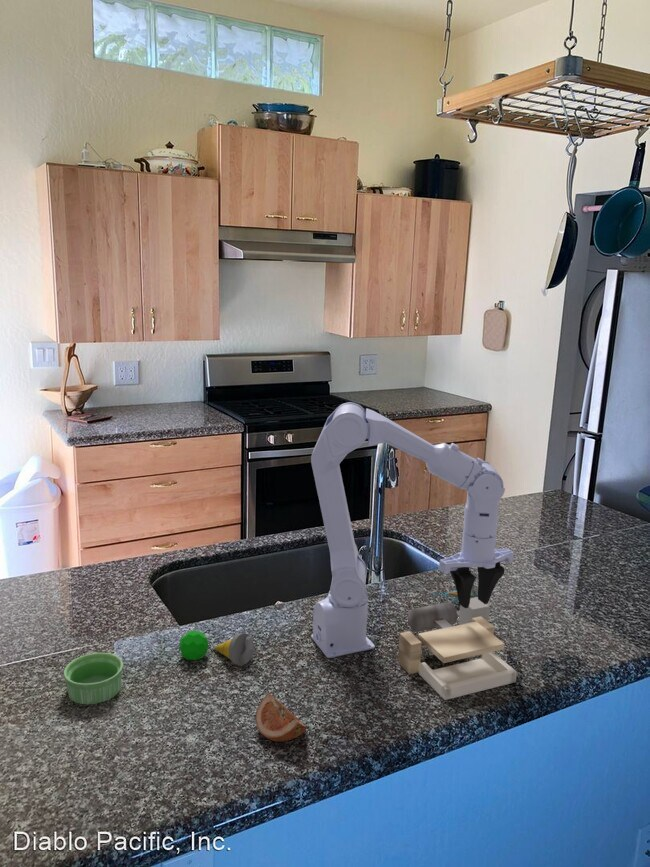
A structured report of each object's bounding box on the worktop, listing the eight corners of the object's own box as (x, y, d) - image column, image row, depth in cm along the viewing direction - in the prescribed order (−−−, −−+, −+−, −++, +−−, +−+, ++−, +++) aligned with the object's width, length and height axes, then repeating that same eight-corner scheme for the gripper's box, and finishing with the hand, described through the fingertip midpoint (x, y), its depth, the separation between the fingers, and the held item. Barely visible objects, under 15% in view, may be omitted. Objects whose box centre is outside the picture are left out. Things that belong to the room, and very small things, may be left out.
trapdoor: (397, 627, 125) (398, 607, 124) (453, 616, 129) (454, 596, 128) (443, 671, 111) (444, 649, 110) (503, 657, 116) (505, 635, 115)
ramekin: (103, 669, 116) (102, 646, 115) (135, 690, 111) (134, 666, 110) (54, 693, 109) (52, 668, 108) (85, 717, 104) (84, 691, 103)
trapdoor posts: (397, 664, 120) (399, 633, 119) (478, 645, 127) (480, 616, 125) (409, 676, 116) (411, 644, 115) (491, 657, 123) (494, 626, 122)
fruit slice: (315, 744, 99) (316, 714, 98) (275, 762, 95) (276, 731, 94) (285, 713, 106) (286, 685, 105) (247, 729, 102) (247, 699, 101)
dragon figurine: (446, 613, 147) (481, 613, 142) (430, 608, 142) (465, 608, 137) (447, 582, 149) (481, 582, 145) (431, 576, 144) (466, 575, 139)
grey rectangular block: (470, 633, 131) (472, 609, 130) (458, 623, 135) (460, 600, 134) (487, 629, 133) (489, 606, 132) (475, 619, 136) (477, 596, 135)
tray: (444, 703, 109) (445, 689, 109) (418, 676, 117) (419, 663, 116) (515, 684, 115) (516, 671, 114) (486, 660, 122) (487, 647, 122)
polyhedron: (177, 653, 121) (176, 628, 120) (204, 648, 123) (204, 624, 122) (183, 668, 117) (182, 643, 116) (211, 662, 119) (211, 637, 118)
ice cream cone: (249, 629, 116) (207, 628, 122) (242, 662, 114) (199, 659, 119) (269, 639, 120) (227, 637, 125) (262, 670, 117) (219, 667, 123)
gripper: (458, 546, 113) (452, 621, 116) (527, 535, 119) (520, 606, 122) (434, 531, 119) (429, 602, 123) (502, 521, 125) (495, 589, 128)
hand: (473, 603), depth 123 cm, fingers open, 4 cm apart
